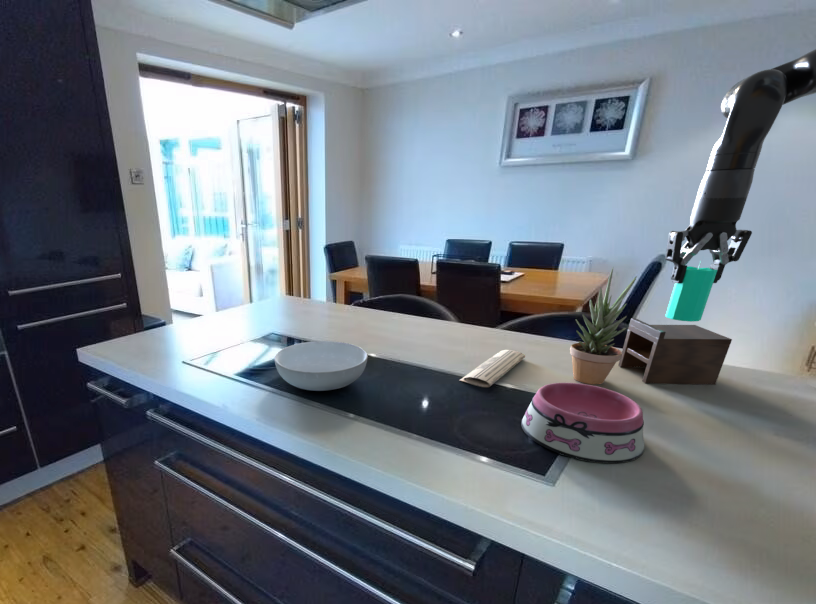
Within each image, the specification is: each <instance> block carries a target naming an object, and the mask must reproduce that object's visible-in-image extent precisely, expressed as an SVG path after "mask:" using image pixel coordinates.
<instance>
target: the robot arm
mask: <svg viewBox="0 0 816 604" xmlns="http://www.w3.org/2000/svg"><path fill="white" fill-rule="evenodd" d="M815 94H816V48H815V49H813V50H811V51H809V52H807V53H805V54H804V55H802V56H800V57H798V58H795V59H793V60H791V61H788V62H786V63H783V64H780V65H777V66H775V67H772V68H770V69H768V68H767V69H763V70H759V71H757V72H755V73H753V74H751V75H749V76H747V77H746V78H743V79H741V80H740V81H738V82H737V83H735V84H733V85H732V87H730V88H729V90H728V91H726V93H725V94H724V96H723V97H722V100H721V102H720V112H721V114H722V115H723V117H724V118H726V119H727V120H726V122H725V125H724V128H723V131H722V134H721V136H720V137H719V138H718V139H717V140H716V141H715V143H714V145H713V147H712V149H711V151H710V155H709V158H708V161H707V164H706V168H705V172H704V175H703V177H702V179H701V181H700V184H699V186H698V190H697V192H696V196H695V200H694V203H693V206H692V209H691V212H690V213H691V214H690V217H689V225H688V226H687V227H686V229H685V230H678V231H677V230H671V231H669V233H668V237H667V244H666V251H665V257H664V259H665V261H667V262H670V263H673V269H672V270H671V276H670V280H671V282H672V283H673V284H675V283H682V282H683V279H684V275H685V272H686V269H687V267H688V263H689V262H690V261H691V260H692V259H693V257H695V256H696V255H698V254H699V252H701V251H706V250H708V251H709V253H710V254H711V257H712V261H713V262H712V263H711V264H710V266H709V268H710V269H713V270H717V273H716V276H715V279H714V282H713V284H717V283H718V282H719V281H720V280H721V278H722V276H723V273H724V270H725V268H726V267H725V266H727V264H729V263H731V262H738V261H739V260H740V258H741V256H742V255H743V252H744V250H745V248H746V246H747V244H748V242H749V240H750V239H751V236H752V234H753V231H752V230H750V229H749V230H748V229H737V223H738V221H740V219H741V217H742V215H743V211H744V208H745V205H746V202H747V199H748V196H749V193H750V190H751V187H752V184H753V181H754V175H755V169H756V167H757V164H758V161H759V158H760V155H761V152H762V149H763V144H764V142H765V140H766V138H767V136H768V134H769V133H770V131H771V129H772V127H773V125H774V123H775V121H776V120H777V118H778V115H779V114H780V112H781V110H782V107H783V105H786V104H788V103H791V102H793V101H796V100H798V99H802V98H804V97H808V96H810V95H811V96H812V95H815ZM730 239H731V240H730ZM685 240H686V242H685V243H684V244H683V242H684V241H685ZM729 240H730V243H729V244H728V241H729ZM682 245H683V246H682Z"/></svg>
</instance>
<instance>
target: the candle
mask: <svg viewBox="0 0 816 604" xmlns="http://www.w3.org/2000/svg"><path fill="white" fill-rule="evenodd" d="M701 263H702V260H699V264H698V267H695V266H688V265H687V269H686V272H685V275H684V279H683V282H682V283H674V286H673V289H672V292H671V296H670V298H669V302H668V305H667V310H666V313H665V316H664V317H666V318H667V319H669V320H674V321H680V322H692V323H693V322H700V321H701V320H702V318H703V315H704V311H705V309H706V307H707V306H706V305H707V303H708V300H709V297H710V294H711V291H712V288H713V285H714V283H713V282H714V279H715V276H716V273H717V270H713V269H710V267H700V265H701Z"/></svg>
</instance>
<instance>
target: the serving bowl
mask: <svg viewBox="0 0 816 604" xmlns="http://www.w3.org/2000/svg"><path fill="white" fill-rule="evenodd" d="M367 363H368V353H367V351H366V350H364V348H362V347H360V346H359V345H355V344H352V343H349V342H344V341H343V342H342V341H336V340H313V341H306V342H305V341H304V342H301V343H295V344H292V345H289V346H286V347H284V348H282V349H280V350H279V351H277V353H276V354H275V355H274V364H275V368H276V371H277V372H278V374H279V375H280V377H281V378H282V379H283V380H284V381H285V382H286V383H287V384H289V385H291V386H293V387H295V388H298V389H301V390H304V391H305V390H306V391H315V392H324V391H326V392H327V391H332V390H337V389H338V390H339V389H341V388H344V387H347V386H349V385H351V384H353V383H355V382H356V381H357V380H358V379H359V378H360V377H362V374H363V373H364V372H365V369H366V367H367Z"/></svg>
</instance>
